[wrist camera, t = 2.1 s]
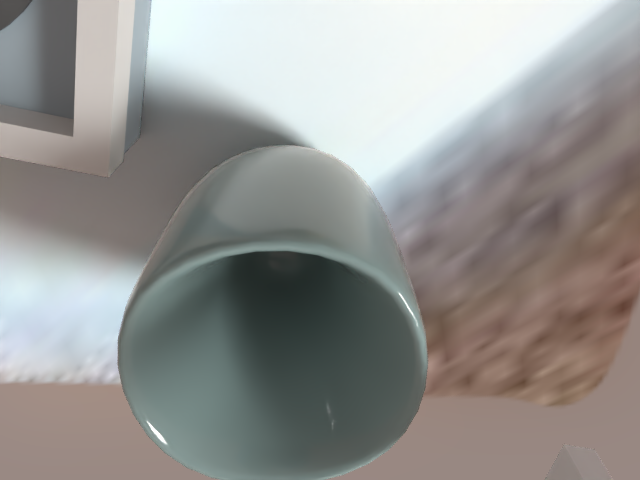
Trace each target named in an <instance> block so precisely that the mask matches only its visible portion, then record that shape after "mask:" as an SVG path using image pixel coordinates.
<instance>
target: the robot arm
mask: <svg viewBox="0 0 640 480" xmlns="http://www.w3.org/2000/svg"><path fill="white" fill-rule="evenodd" d="M545 480H613V478H612V477H611V475H610V474H609V472H608V470H607V469H606V467H605V466H604V464H603V462H602V461H601V459H600V457H599V456H598V454H597V452H596V451H595V450H594V449H589V448H582V447H576V446H570V445H563V447H562V449H561V451H560V452H559V454H558V456H557V458H556V460H555V462H554V463H553V465H552V467H551V469H550V471H549V473H548V474H547V477H546V478H545Z"/></svg>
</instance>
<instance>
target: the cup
mask: <svg viewBox="0 0 640 480" xmlns="http://www.w3.org/2000/svg"><path fill="white" fill-rule="evenodd" d="M118 369H119V374H120V379H121V384H122V389H123V392H124V394H125V396H126V398H127V401H128V403H129V405H130V408H131V410H132V413H133V414H134V416H135V417H136V419H137V421H138V422H139V424H140V425H141V426H142V428H143V429H144V431H145V432H146V434H147V435H148V437H149V438H151V440H152V441H154V442H155V444H156V445H157V446H159V447H160V449H161V450H162V451H164V453H166V454H167V455H169V456H170V457H172V458H173V459H175V460H176V461H178V462H179V463H181V464H182V465H184V466H185V467H187V468H189V469H191V470H194V471H197V472H199V473H201V474H204V475H206V476H208V477H211V478H215V479H220V480H326V479H329V478H333V477H337V476H340V475H344V474H346V473H349V472H351V471H353V470H356V469H358V468H360V467H362V466H365V465H367V464H369V463H370V462H371V461H373V460H375V459H376V458H378V457H379V456H381V455H382V454H384V453H385V452H387V451H388V450H389V449H390V448H391V447H392V446H393V445H394V444H395V443H396V442H397V441H398V440H399V438H400V437H401V436H402V435H403V434H404V433H405V432H406V430H407V429H408V427H409V425H410V423H411V422H412V420H413V418H414V417H415V415H416V413H417V412H418V409H419V406H420V403H421V400H422V397H423V394H424V391H425V388H426V378H427V369H428V351H427V342H426V333H425V327H424V321H423V318H422V314H421V311H420V307H419V304H418V301H417V298H416V295H415V292H414V289H413V286H412V283H411V280H410V277H409V274H408V271H407V268H406V265H405V262H404V259H403V256H402V253H401V250H400V247H399V245H398V242H397V239H396V236H395V234H394V231H393V229H392V226H391V224H390V222H389V220H388V218H387V215H386V214H385V212H384V210H383V208H382V207H381V205H380V203H379V202H378V200H377V198H376V196H375V195H374V193H373V191H372V190H371V188H370V187H369V186H368V184H367V183H366V182H365V181H364V180H363V179H362V178H361V177H360V176H359V175H358V174H357V172H356V171H355V170H354V169H353V168H351V167H350V166H349V165H347V164H346V163H344V162H343V161H341V160H339V159H338V158H336V157H335V156H333V155H331V154H328V153H325V152H323V151H320V150H317V149H314V148H308V147H302V146H296V145H272V146H267V147H261V148H256V149H251V150H249V151H246V152H243V153H240V154H237V155H235V156H233V157H231V158H229V159H228V160H226V161H224V162H223V163H221V164H219V165H218V166H216V167H214V168H213V169H211V170H210V171H209V172H208V173H207V174H206V175H205V176H204V177H203V178H202V179H201V180H200V181H199V182H198V183H197V184H196V185H195V186H194V187H193V188H192V189H191V190H190V191H189V192H188V193H187V195H186V196H185V197H184V199H183V200H182V202H181V203H180V205H179V206H178V208H177V209H176V211H175V213H174V214H173V216H172V218H171V219H170V221H169V223H168V225H167V226H166V228H165V230H164V231H163V233H162V235H161V237H160V238H159V240H158V242H157V244H156V246H155V247H154V249H153V251H152V253H151V255H150V257H149V259H148V260H147V262H146V264H145V266H144V268H143V270H142V272H141V274H140V276H139V278H138V280H137V282H136V284H135V286H134V288H133V290H132V292H131V294H130V296H129V299H128V302H127V305H126V307H125V311H124V315H123V319H122V322H121V326H120V330H119V335H118Z"/></svg>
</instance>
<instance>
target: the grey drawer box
mask: <svg viewBox="0 0 640 480" xmlns="http://www.w3.org/2000/svg"><path fill="white" fill-rule="evenodd" d="M150 11H151V0H0V157H4V158H9V159H15V160H20V161H25V162H30V163H35V164H40V165H45V166H51V167H56V168H61V169H66V170H71V171H76V172H81V173H86V174H92V175H97V176H102V177H107V178H108V177H109V176H110V175H111V174H112V173H113V172H114V171H115V170H116V169H117V168H118V167H119V165H120V164H121V163H122V162H123V160H124V153H125V152H126V151H127V150H128V149H129V148H130V147H131V146H132V145H133V144H134V143H135V142H136V141H137V140H138V139H139V137H140V128H141V117H142V105H143V93H144V82H145V70H146V58H147V47H148V35H149V23H150Z"/></svg>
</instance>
